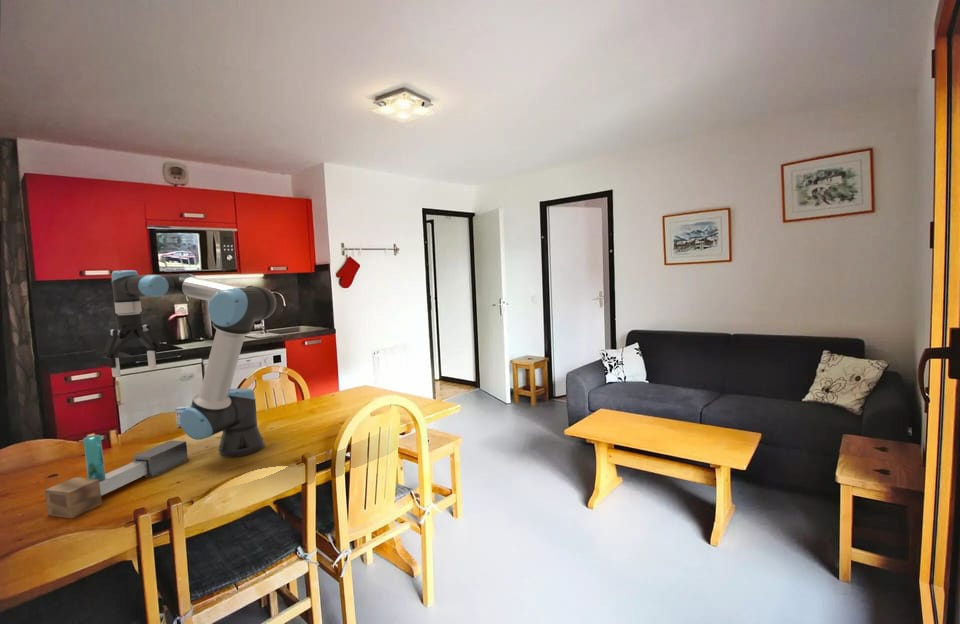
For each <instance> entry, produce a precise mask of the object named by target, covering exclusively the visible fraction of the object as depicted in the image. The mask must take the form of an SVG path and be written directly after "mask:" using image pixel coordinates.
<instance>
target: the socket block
mask: <svg viewBox="0 0 960 624" xmlns="http://www.w3.org/2000/svg"><path fill="white" fill-rule="evenodd" d="M44 495H45V501H46V509H47V516H49V517H50V516H51V517H59V518H67V519H74V518H76V517H78V516H80V515H84V513H86V512H89V511H91V510H93V509H95V508H97V507H98V506H101V505H103V501H102V496H101V492H100V484H99V479H89V478H88V477H78V476H77V477H76V476H75V477H73V478H71V479H68V480H66V481H63V482H61V483H58V484H55V485H53V486H50V487H49V488H46V489H44Z"/></svg>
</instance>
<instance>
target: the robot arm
mask: <svg viewBox="0 0 960 624" xmlns="http://www.w3.org/2000/svg"><path fill="white" fill-rule="evenodd" d="M110 283H111V289H112V294H113V302H114V309H115V311H114V313H115V314H116V316H115V320H116V321H115V322H116V325H117V326H118V327H117V329H109V330H108V336H107V340H106V343H105V345H104V349H103V351H102V354H101V358H104V359H108V367H109V368H110V369H111V374H112V377H113V378H120V377H121V375H122V374H121V366H120V359H119V357H118V355H119V354H120V352H121V350H122V349H123V347H124V346H125V344H126V343H127V342H129V341H132V340H138V341H139V342H140V343H141V344H142V345H143V346H144V347H145V348H146V349H148V350H147V351H146V357H147V364H148V365H147V366H148V369H157V362H156V361H157V360H156V359H157V351H159V349H160V348H161V347H162V344H161V343H160V342H159V340H158V338H157V337H156V335H155V333H154V332H153V330H152V326H151V324H143V323H144V321H143V314H142V311H143V310H142V303H141V302H142V301H141V298H157V297H164V296H165V297H166V296H175V295H177V296H178V295H179V296H184V297H190V298H194V299H197V300H204V301H208V305H207V312H208V314H209V319H210V320H211V322H212V326H213V328H214V329H215V334H214V338H213V341H212V346H211V349H210V353H209V357H208V361H207V364H206V368H205V371H204V375H203V379H202V383H201V387H200V390H199V392H197V393H195V394H194V396H192V401H191V405H190V406H191V407H187V408H186V409H184V410H183V411H182V412H181V414H180V424H181V427H182V430H183V432H184V433H185V434H186V436H187V437H188V438H191V439H192V440H197V441H198V440H199V441H200V440H204V439H207V438H210V437H212V436H214V435H217V434H219V433H221V432H222V434H221V438H220V441H219V442H220V443H219V445H218V455H219V456H221V457H224V458H237V457H244V456H247V455H251V454H254V453H256V452H260V451H261V450H262V449H263V448H264V446H265V440H264V437H262V434H261V432H260V429H259V427H258V418H257V416H258V415H257V405H256V404H257V402H256V399H257V398H256V395H255V391H254V390H253V389H252V388H243V387H242V388H232V387H231V386H232V382H233V379H234V376H235V372H236V369H237V364H238V362H239V358H240V354H241V350H242V347H243V344H244V339H245V337H246V336H247V335H249V334H250V333H252V330H253V325H254V323H255V322H258V321H262V320H265V319H268V318H270V316H272V315H273V314H274V312H275V310H276V308H277V299H276V296H275V294H274V293H273V292H272V291H271V290H270V289H269V288H267V287H264V286H254V285H246V286H240V285H235V284H230V283H225V282H221V281H216V280H211V279H206V278H201V277H196V276H195V275H194V274H190V273H179V274H177V273H175V274H145V275H139V273H138V271H137V270H133V269H131V270H130V269H129V270H128V269H127V270H113V271H112V273H111V282H110Z"/></svg>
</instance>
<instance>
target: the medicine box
mask: <svg viewBox="0 0 960 624" xmlns="http://www.w3.org/2000/svg"><path fill="white" fill-rule="evenodd" d="M187 407H191V405H181V406H178V407H176V408H175V409H174V412H178V413H175V414H174V415H175V424H176V423H177V425H179V427H181V424H180V414H181V412H182V411H183V410H184V409H186V408H187Z"/></svg>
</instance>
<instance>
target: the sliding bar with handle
mask: <svg viewBox="0 0 960 624" xmlns="http://www.w3.org/2000/svg"><path fill="white" fill-rule="evenodd" d="M82 441H83V448H84V450H83V451H84V455H85V457H84V458H85V463H86V474H87V478H89V479H99V484H100V492H101V497H102V496H105V495H106V494H108V493H110V492H113V491H115V490H117V489H119V488H121V487H123V486H125V485H127V484H129V483H131V482H133V481H135V480H138V479H139V478H143V477H142V476H144V475H146V474H148V473H149V466H148V460H140V459H139V460H137V461H134V460H133V461H132V462H130V463H128V464H126V465H123V466H120V467H118V468H116V469H114V470H111V471H108V472H107V473H106V468H105V461H104V454H103V453H104V452H103V444H102V437H101V434H93V435H87V436H86V437H83V439H82Z"/></svg>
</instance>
